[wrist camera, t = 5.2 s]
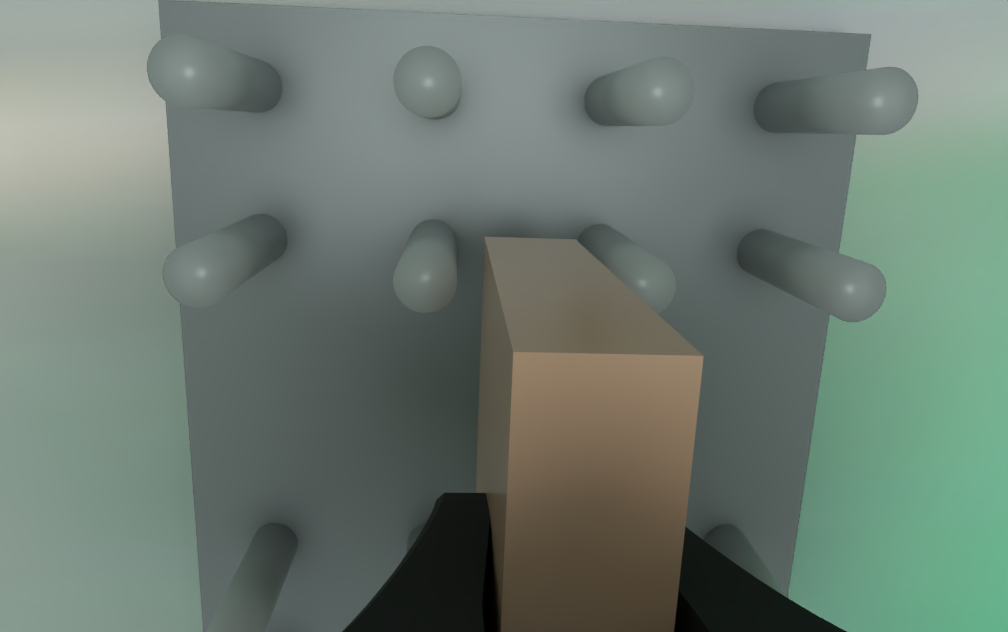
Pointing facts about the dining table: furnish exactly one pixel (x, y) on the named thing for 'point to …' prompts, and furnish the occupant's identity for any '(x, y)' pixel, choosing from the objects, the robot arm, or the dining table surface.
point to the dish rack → (460, 257)
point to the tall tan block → (580, 444)
